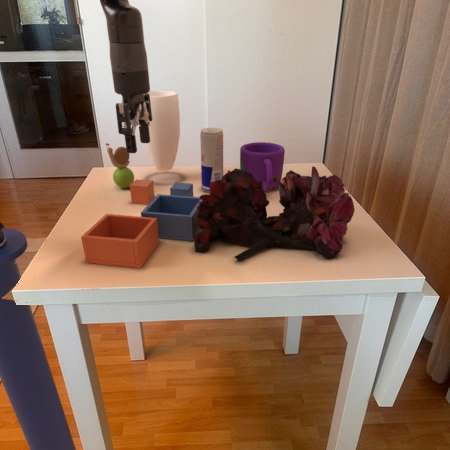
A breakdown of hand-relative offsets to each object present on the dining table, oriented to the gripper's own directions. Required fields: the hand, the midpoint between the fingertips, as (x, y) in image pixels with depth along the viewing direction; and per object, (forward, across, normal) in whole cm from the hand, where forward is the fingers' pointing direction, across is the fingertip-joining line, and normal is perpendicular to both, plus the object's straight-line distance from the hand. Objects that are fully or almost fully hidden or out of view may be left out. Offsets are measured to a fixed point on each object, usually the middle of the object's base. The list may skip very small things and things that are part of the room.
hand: (139, 147), depth 97 cm
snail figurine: (+13, -7, -8) cm, 17 cm away
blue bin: (+13, +14, +12) cm, 23 cm away
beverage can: (+13, -11, +15) cm, 22 cm away
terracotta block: (+13, 0, 0) cm, 13 cm away
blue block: (+13, 0, +10) cm, 16 cm away
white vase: (+13, -17, 0) cm, 21 cm away
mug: (+13, -13, +28) cm, 33 cm away
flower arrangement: (+13, +15, +33) cm, 38 cm away
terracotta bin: (+12, +27, +6) cm, 30 cm away
